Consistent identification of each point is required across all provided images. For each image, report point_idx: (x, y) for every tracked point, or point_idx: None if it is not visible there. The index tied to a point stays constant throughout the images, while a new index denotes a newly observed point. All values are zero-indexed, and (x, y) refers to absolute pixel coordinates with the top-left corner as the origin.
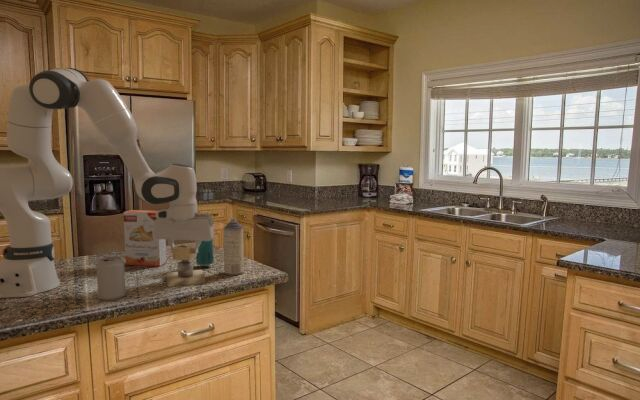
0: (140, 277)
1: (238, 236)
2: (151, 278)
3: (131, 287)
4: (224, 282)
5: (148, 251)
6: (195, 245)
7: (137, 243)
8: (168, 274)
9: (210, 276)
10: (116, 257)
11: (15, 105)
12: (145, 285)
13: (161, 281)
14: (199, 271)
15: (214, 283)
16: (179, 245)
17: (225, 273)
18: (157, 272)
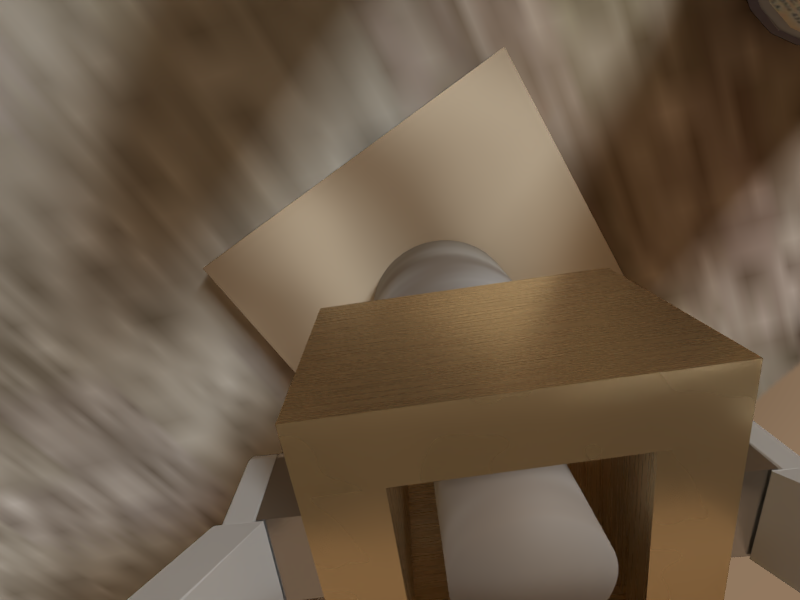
0: (15, 332)
1: None
2: (128, 332)
3: (170, 528)
4: (788, 271)
5: None
6: (742, 418)
7: None
8: (266, 319)
9: (616, 133)
10: None
11: None
12: (226, 477)
13: (269, 377)
14: (512, 140)
15: (710, 315)
16: (373, 550)
17: (765, 13)
18: (13, 145)
